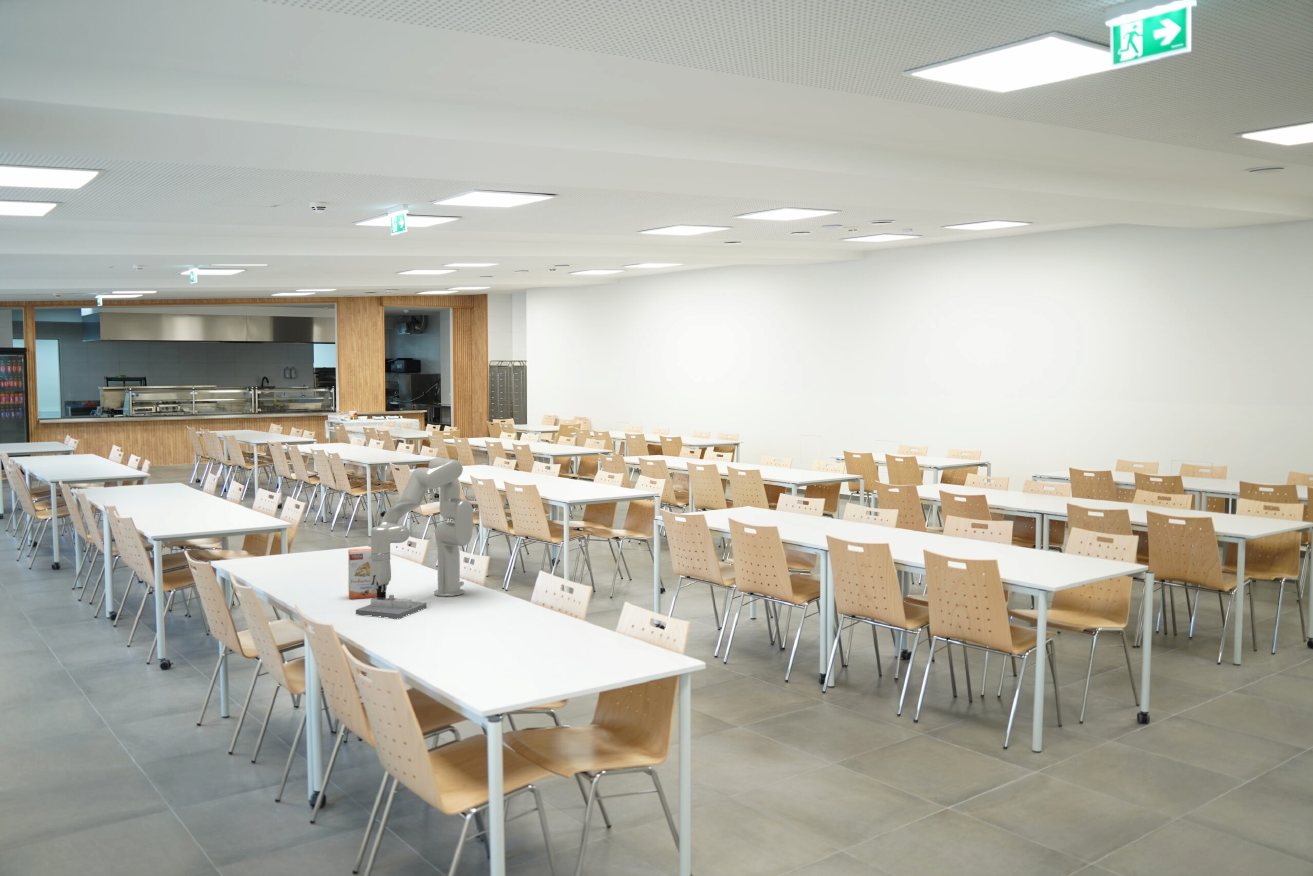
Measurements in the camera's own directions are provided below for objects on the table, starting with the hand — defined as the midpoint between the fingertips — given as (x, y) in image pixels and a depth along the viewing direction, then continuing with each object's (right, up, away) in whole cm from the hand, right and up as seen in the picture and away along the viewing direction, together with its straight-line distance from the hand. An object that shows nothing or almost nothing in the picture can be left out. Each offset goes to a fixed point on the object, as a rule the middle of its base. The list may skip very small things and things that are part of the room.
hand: (381, 600), depth 404 cm
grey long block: (+5, -1, -5) cm, 8 cm away
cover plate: (+5, -3, -4) cm, 8 cm away
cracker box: (-12, -2, +21) cm, 24 cm away
